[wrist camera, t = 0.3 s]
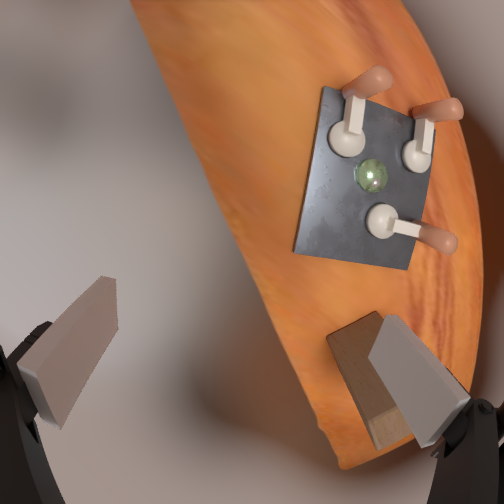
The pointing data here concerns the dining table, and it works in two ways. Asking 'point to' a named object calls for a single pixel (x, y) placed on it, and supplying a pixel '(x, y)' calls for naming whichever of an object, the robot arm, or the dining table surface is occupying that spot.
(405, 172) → the base plate
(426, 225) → the knob
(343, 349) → the wooden block
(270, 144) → the dining table surface
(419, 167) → the knob
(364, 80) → the knob
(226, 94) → the dining table surface
